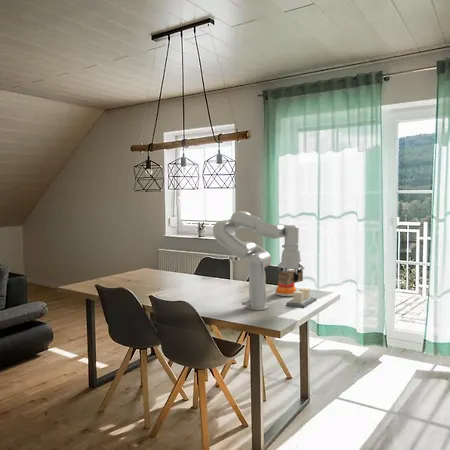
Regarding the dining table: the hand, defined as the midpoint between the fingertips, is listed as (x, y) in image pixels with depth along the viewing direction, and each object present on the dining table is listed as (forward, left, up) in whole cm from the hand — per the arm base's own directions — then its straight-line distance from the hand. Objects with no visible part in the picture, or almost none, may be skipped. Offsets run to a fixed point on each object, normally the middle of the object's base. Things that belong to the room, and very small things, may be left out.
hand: (290, 279), depth 238 cm
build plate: (+16, +15, -18) cm, 28 cm away
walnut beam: (0, 0, -1) cm, 1 cm away
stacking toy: (+18, +37, -18) cm, 45 cm away
